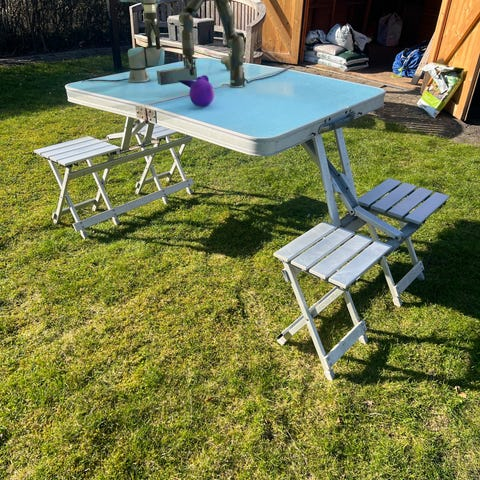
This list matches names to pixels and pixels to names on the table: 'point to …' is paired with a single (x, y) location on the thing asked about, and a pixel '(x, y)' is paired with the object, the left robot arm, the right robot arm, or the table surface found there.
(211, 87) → the toy
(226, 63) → the teapot
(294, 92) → the table surface
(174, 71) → the bar
